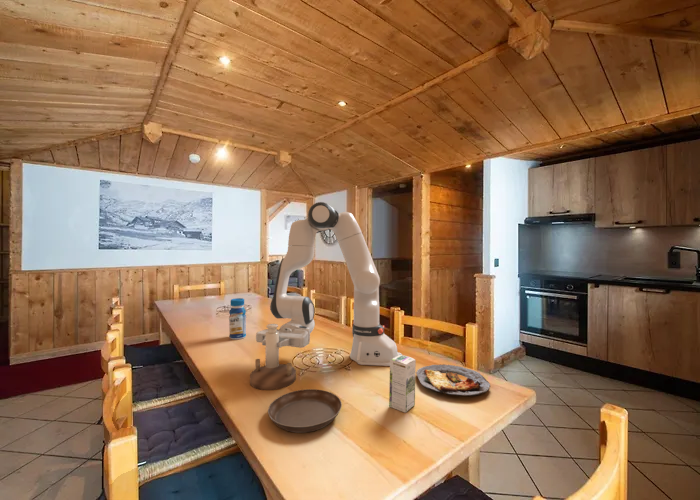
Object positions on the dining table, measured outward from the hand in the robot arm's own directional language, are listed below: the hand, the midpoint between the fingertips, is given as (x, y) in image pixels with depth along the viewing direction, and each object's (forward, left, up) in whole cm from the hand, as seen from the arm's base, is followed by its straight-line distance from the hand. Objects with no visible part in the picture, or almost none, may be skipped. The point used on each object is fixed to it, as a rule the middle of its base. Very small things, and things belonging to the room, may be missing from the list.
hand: (270, 344), depth 111 cm
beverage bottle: (+45, -39, -13) cm, 61 cm away
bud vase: (0, -1, -8) cm, 8 cm away
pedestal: (0, -1, -13) cm, 13 cm away
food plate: (-61, -18, -14) cm, 65 cm away
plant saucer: (-22, +17, -14) cm, 30 cm away
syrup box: (-47, +3, -13) cm, 49 cm away
